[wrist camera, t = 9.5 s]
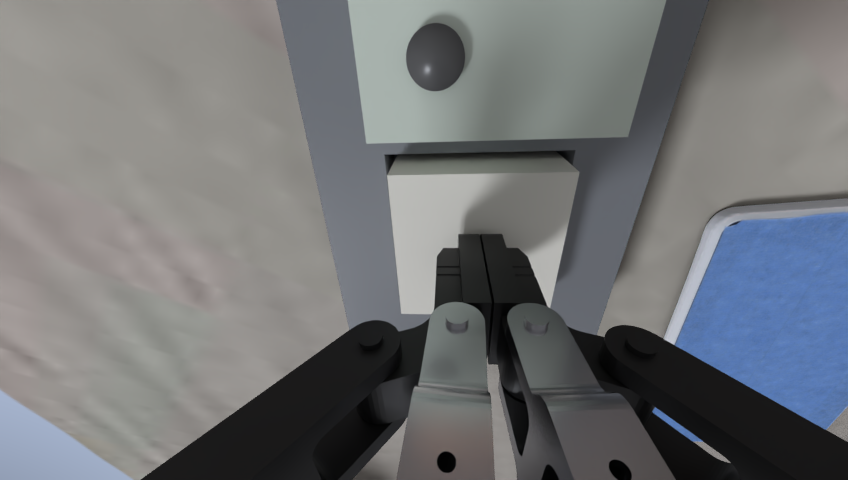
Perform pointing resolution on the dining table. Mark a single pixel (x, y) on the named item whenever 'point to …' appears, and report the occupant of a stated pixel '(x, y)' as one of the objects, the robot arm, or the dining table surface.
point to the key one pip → (477, 212)
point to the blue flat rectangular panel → (772, 304)
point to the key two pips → (500, 67)
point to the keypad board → (370, 163)
